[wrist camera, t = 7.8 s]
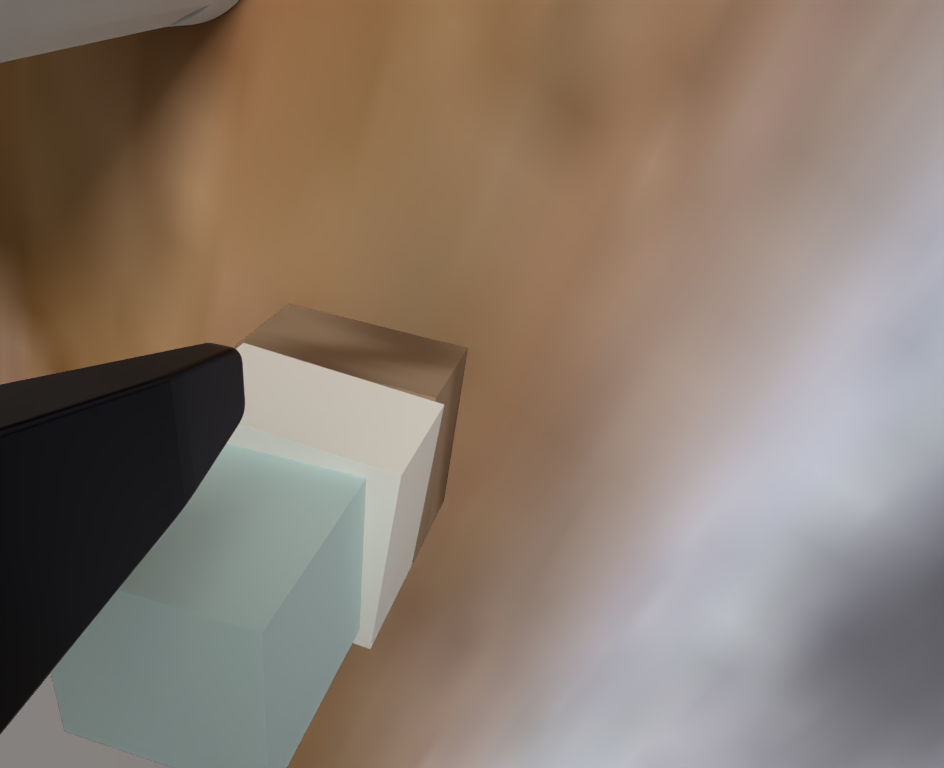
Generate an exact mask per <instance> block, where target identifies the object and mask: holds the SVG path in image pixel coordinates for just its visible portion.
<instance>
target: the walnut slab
mask: <svg viewBox="0 0 944 768" xmlns="http://www.w3.org/2000/svg"><path fill="white" fill-rule="evenodd" d="M243 343H246V344H249V345H253V346H256V347H259V348H262V349H266V350H269V351H272V352H275V353H279V354H282V355H285V356H288V357H292V358H295V359H298V360H301V361H305V362H308V363H311V364H314V365H318V366H321V367H324V368H327V369H331V370H334V371H337V372H340V373H344V374H347V375H350V376H353V377H357V378H360V379H363V380H366V381H370V382H373V383H376V384H379V385H383V386H386V387H389V388H392V389H396V390H399V391H402V392H405V393H409V394H412V395H415V396H418V397H421V398H425V399H428V400H431V401H434V402H438V403H441V404H444V409H443V414H442V419H441V424H440V429H439V434H438V438H437V443H436V448H435V453H434V458H433V463H432V468H431V473H430V478H429V483H428V488H427V493H426V497H425V502H424V507H423V512H422V517H421V522H420V527H419V532H418V537H417V542H416V547H415V551H414V556H413V561H412V562H414V560H415V558H416V556H417V554H418V552H419V550H420V548H421V546H422V544H423V542H424V540H425V538H426V536H427V534H428V532H429V530H430V528H431V526H432V524H433V522H434V519H435V517H436V515H437V513H438V511H439V509H440V507H441V505H442V503H443V501H444V496H445V490H446V484H447V477H448V471H449V464H450V458H451V452H452V445H453V439H454V433H455V426H456V420H457V414H458V407H459V401H460V394H461V388H462V382H463V375H464V369H465V363H466V356H467V350H468V348H465V347H460V346H456V345H452V344H448V343H444V342H440V341H436V340H432V339H428V338H424V337H420V336H416V335H412V334H408V333H404V332H400V331H396V330H392V329H388V328H384V327H380V326H376V325H372V324H368V323H364V322H360V321H356V320H352V319H348V318H344V317H340V316H336V315H332V314H328V313H324V312H320V311H316V310H312V309H308V308H304V307H300V306H296V305H292V304H288V305H287V306H286V307H284V308H283V309H282V310H280V311H279V312H278V313H276V314H275V315H274V316H273V317H271V318H270V319H269V320H267V321H266V322H265V323H264V324H262V325H261V326H260V327H258V328H257V329H256V330H255V331H253V332H252V333H251V334H249V335H248V336H247V337H245V338H244V339H243V340H242V341H240V342H239V343H238V344H236V345H235V349H236V348H238V347H239V346H240V345H241V344H243Z"/></svg>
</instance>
